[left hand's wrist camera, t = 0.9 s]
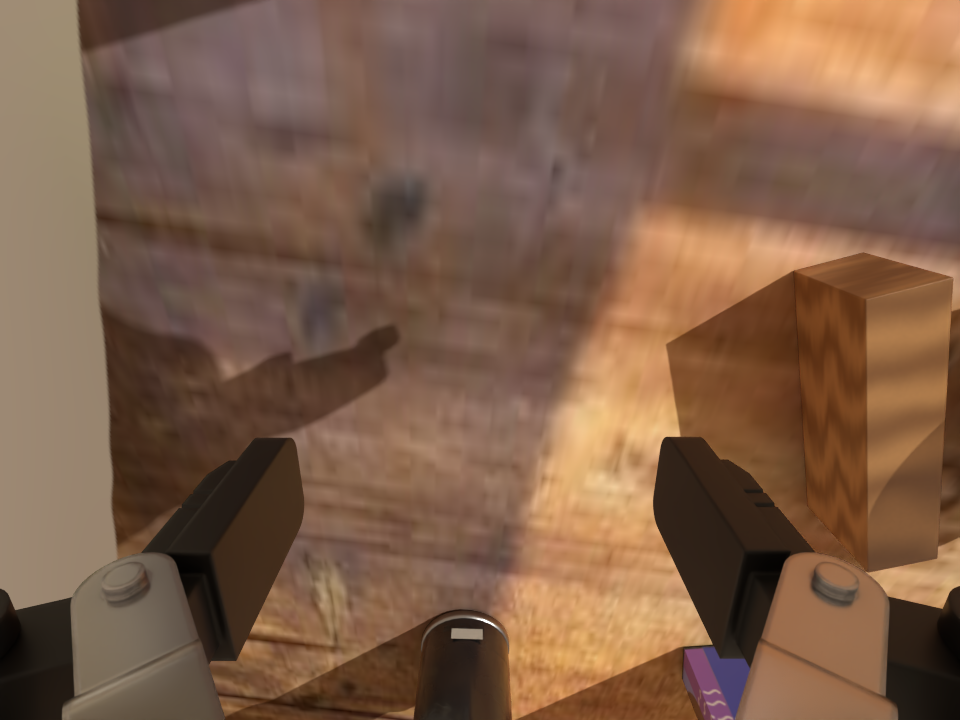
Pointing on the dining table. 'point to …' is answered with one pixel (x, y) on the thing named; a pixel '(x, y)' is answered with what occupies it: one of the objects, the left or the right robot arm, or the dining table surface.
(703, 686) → the cereal box
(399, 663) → the dining table surface
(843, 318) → the bar
